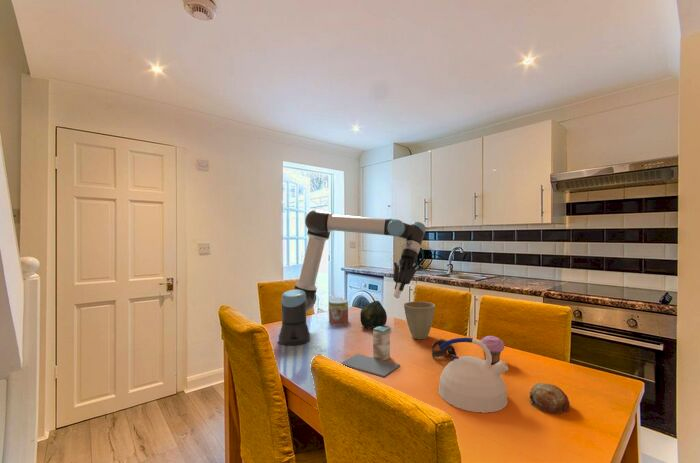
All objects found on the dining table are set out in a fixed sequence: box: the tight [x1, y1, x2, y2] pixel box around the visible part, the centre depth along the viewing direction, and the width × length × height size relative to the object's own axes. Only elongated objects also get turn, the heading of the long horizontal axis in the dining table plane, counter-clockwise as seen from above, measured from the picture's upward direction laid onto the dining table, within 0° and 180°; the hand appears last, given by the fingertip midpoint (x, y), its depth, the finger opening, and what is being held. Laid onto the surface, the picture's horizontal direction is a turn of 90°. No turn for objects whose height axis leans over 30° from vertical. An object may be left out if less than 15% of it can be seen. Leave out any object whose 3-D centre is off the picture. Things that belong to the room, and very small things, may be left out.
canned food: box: [328, 298, 349, 326], centre depth 186 cm, size 11×11×12 cm
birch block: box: [372, 326, 391, 361], centre depth 132 cm, size 5×5×12 cm
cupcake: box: [479, 335, 505, 364], centre depth 126 cm, size 9×9×10 cm
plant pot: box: [403, 301, 436, 340], centre depth 157 cm, size 15×15×16 cm
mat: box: [340, 353, 401, 378], centre depth 125 cm, size 20×12×1 cm, turn 54°
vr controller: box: [431, 338, 458, 358], centre depth 132 cm, size 12×10×8 cm
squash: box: [359, 300, 388, 329], centre depth 175 cm, size 14×15×15 cm
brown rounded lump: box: [529, 382, 571, 415], centre depth 95 cm, size 10×10×8 cm
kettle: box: [438, 337, 509, 414], centre depth 101 cm, size 20×21×18 cm
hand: (396, 296), depth 146 cm, fingers closed
